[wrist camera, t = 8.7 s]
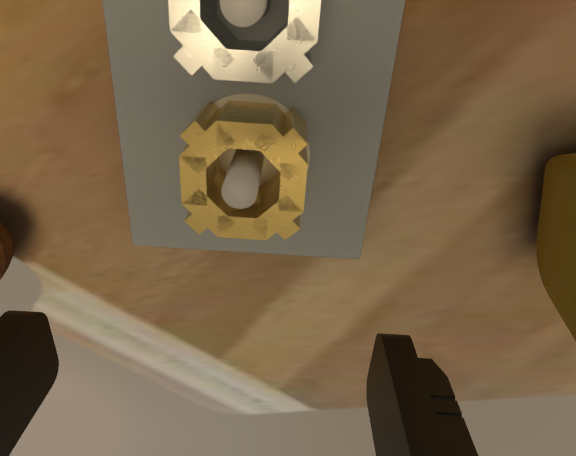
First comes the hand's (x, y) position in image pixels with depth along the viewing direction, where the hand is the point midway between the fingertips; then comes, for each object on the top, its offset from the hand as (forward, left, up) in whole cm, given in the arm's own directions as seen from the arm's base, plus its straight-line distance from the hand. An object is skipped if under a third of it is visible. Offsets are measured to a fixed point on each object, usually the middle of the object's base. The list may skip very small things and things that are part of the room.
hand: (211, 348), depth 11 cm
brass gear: (0, 0, -15) cm, 15 cm away
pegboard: (0, -4, -16) cm, 17 cm away
